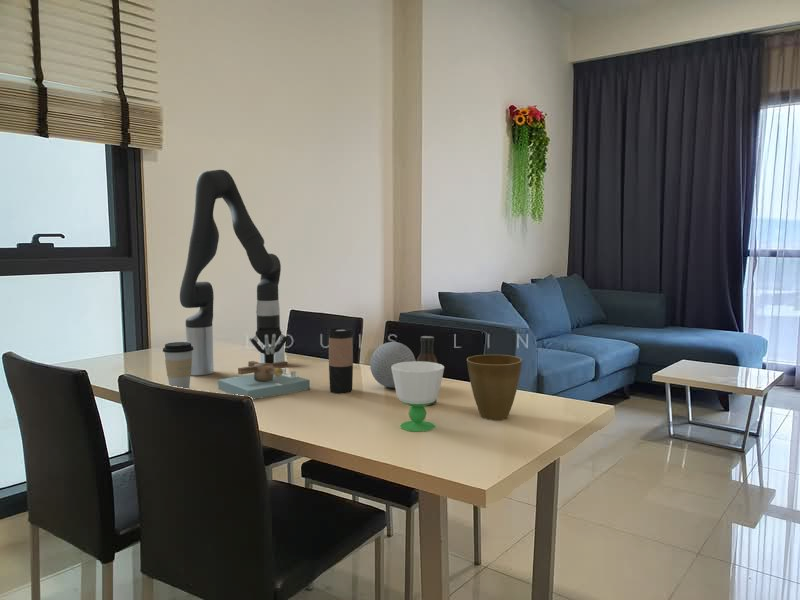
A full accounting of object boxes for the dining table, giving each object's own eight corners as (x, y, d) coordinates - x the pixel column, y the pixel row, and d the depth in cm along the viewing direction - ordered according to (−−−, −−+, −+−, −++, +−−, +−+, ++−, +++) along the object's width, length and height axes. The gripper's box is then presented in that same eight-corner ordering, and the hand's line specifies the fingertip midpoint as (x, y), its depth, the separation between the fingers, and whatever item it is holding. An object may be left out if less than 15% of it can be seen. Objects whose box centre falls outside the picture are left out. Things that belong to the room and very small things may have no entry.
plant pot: (499, 406, 179) (500, 352, 178) (532, 419, 166) (533, 361, 165) (455, 413, 173) (456, 356, 171) (486, 427, 159) (487, 366, 158)
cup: (404, 437, 151) (404, 373, 149) (383, 422, 163) (383, 363, 162) (453, 430, 156) (454, 369, 155) (429, 416, 169) (429, 359, 167)
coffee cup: (184, 394, 194) (183, 346, 192) (157, 392, 196) (156, 345, 194) (200, 387, 203) (199, 342, 202) (174, 385, 205) (172, 341, 203)
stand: (218, 388, 201) (217, 373, 200) (277, 378, 215) (277, 364, 215) (249, 400, 185) (248, 384, 185) (310, 389, 200) (310, 374, 200)
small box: (285, 364, 241) (284, 337, 240) (275, 366, 237) (274, 339, 236) (270, 362, 246) (269, 336, 245) (259, 364, 241) (259, 337, 240)
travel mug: (334, 395, 193) (333, 331, 191) (325, 389, 200) (325, 328, 198) (356, 392, 196) (356, 330, 194) (347, 387, 203) (347, 327, 201)
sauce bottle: (435, 406, 179) (435, 338, 177) (414, 405, 181) (414, 338, 179) (438, 401, 185) (439, 335, 184) (418, 400, 187) (418, 334, 185)
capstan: (227, 378, 201) (227, 363, 201) (273, 371, 212) (273, 356, 212) (256, 388, 187) (256, 372, 186) (304, 380, 198) (303, 365, 198)
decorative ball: (415, 393, 195) (415, 346, 194) (368, 392, 196) (367, 345, 195) (416, 382, 210) (416, 338, 209) (372, 381, 211) (372, 338, 210)
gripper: (250, 315, 199) (252, 368, 201) (290, 313, 205) (291, 365, 207) (245, 313, 206) (247, 364, 207) (284, 311, 212) (285, 361, 213)
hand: (269, 364), depth 207 cm, fingers closed
